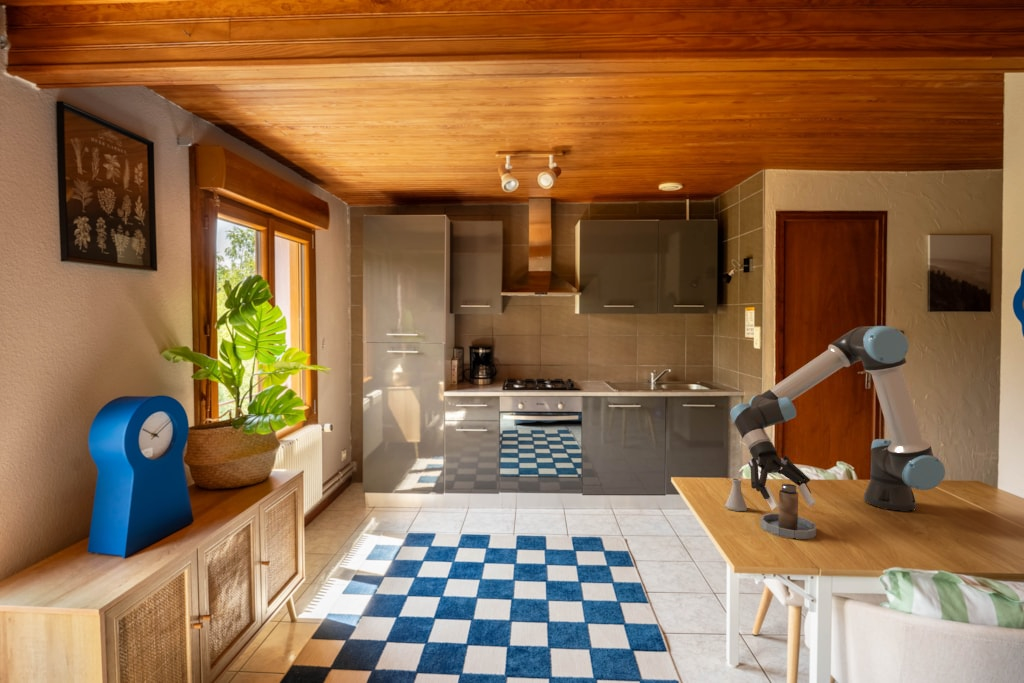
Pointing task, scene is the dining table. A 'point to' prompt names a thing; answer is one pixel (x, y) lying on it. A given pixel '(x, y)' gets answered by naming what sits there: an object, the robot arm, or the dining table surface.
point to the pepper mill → (788, 507)
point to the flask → (736, 497)
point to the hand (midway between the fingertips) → (794, 506)
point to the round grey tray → (803, 531)
